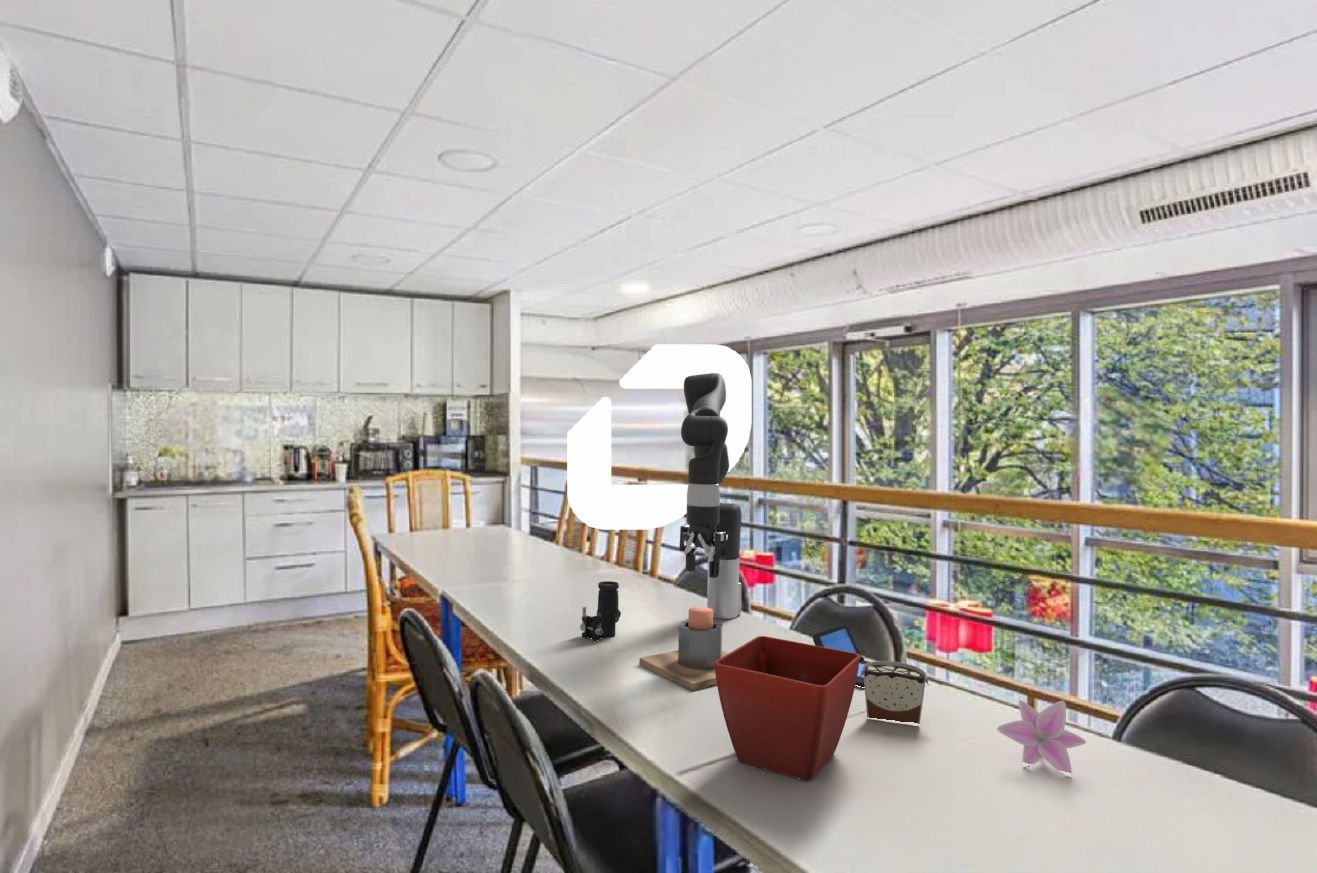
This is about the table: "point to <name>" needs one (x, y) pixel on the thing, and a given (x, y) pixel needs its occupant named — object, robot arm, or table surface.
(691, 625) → the salmon pink rounded cylinder
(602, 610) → the scope
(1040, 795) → the table surface
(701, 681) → the walnut board
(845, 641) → the handheld game console
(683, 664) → the grey octagonal cup
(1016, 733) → the lily
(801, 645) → the plant pot
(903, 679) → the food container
